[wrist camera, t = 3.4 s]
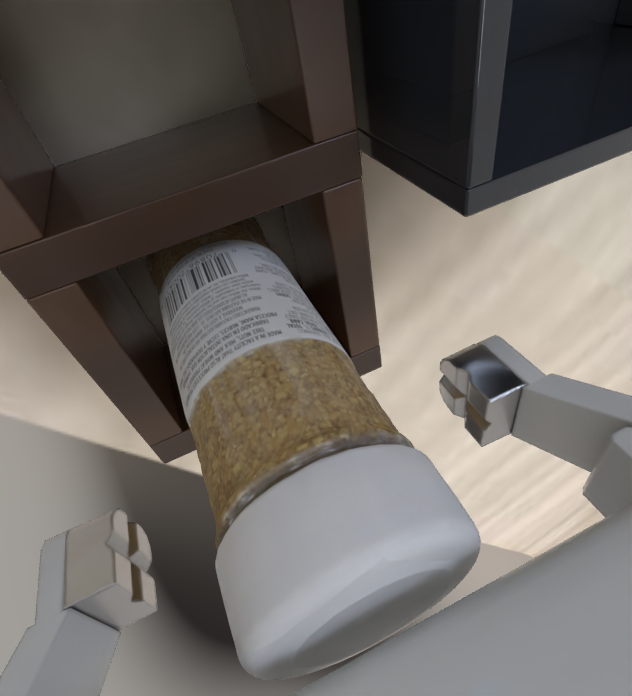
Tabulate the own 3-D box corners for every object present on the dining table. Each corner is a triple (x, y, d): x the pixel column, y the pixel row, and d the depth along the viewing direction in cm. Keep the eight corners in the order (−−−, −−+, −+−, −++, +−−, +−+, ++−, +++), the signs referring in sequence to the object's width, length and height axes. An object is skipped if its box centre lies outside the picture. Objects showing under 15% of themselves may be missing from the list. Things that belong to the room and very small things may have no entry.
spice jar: (181, 320, 18) (289, 703, 8) (120, 225, 15) (186, 675, 5) (280, 275, 18) (486, 590, 9) (242, 174, 15) (503, 499, 6)
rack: (-290, -260, 7) (-634, -474, 4) (206, -333, 9) (291, -539, 5) (149, 374, 19) (164, 464, 15) (330, 299, 20) (382, 367, 17)
